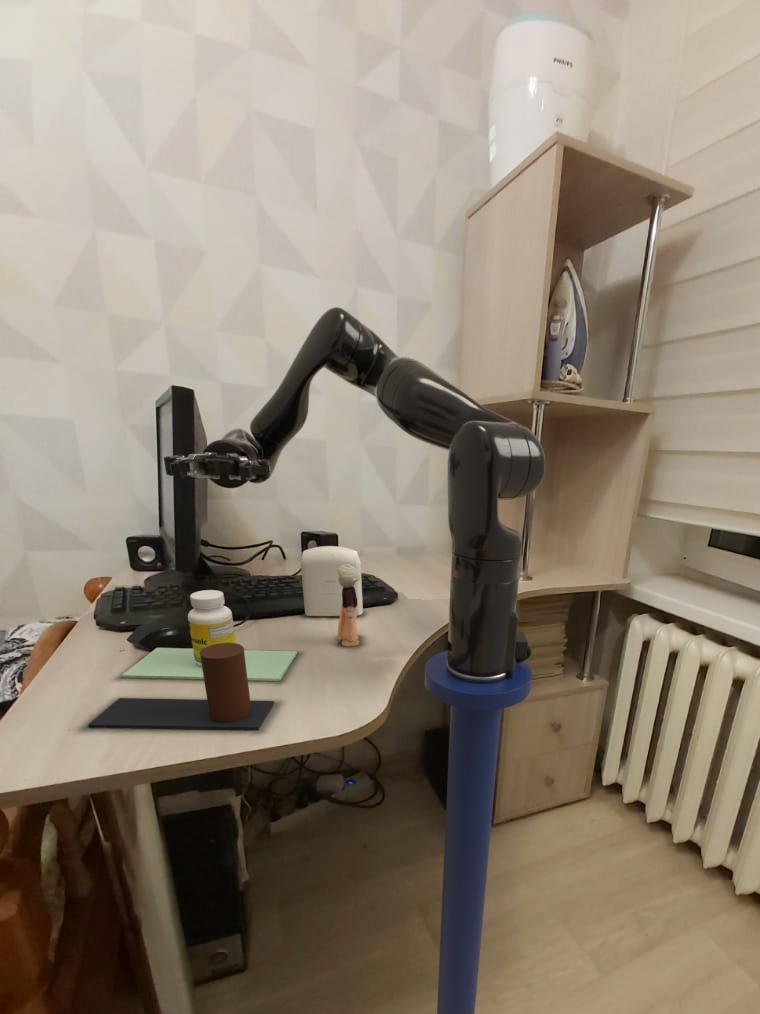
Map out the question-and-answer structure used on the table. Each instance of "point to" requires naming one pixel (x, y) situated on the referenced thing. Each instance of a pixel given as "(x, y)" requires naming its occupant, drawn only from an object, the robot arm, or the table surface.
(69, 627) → the table surface
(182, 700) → the dark mat
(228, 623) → the supplement bottle
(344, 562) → the photo printer
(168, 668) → the pale mat
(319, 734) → the table surface
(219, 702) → the brown cylinder
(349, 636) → the grandmother figurine
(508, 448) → the robot arm
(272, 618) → the table surface
